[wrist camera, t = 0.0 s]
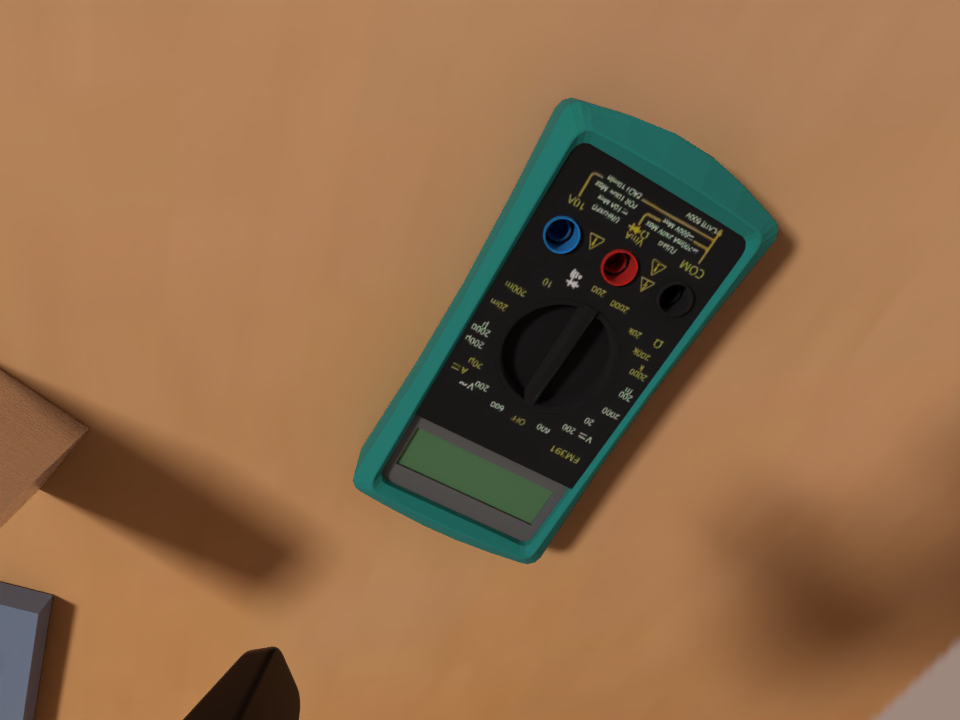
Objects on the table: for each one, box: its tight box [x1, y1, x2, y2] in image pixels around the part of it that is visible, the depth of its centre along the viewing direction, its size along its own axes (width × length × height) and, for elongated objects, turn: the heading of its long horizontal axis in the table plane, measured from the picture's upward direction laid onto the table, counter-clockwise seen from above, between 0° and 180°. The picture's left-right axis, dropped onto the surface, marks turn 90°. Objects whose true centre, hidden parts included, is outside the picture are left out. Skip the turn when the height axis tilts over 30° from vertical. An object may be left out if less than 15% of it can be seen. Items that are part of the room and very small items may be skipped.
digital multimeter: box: [353, 98, 778, 564], centre depth 22 cm, size 7×15×3 cm, turn 151°
